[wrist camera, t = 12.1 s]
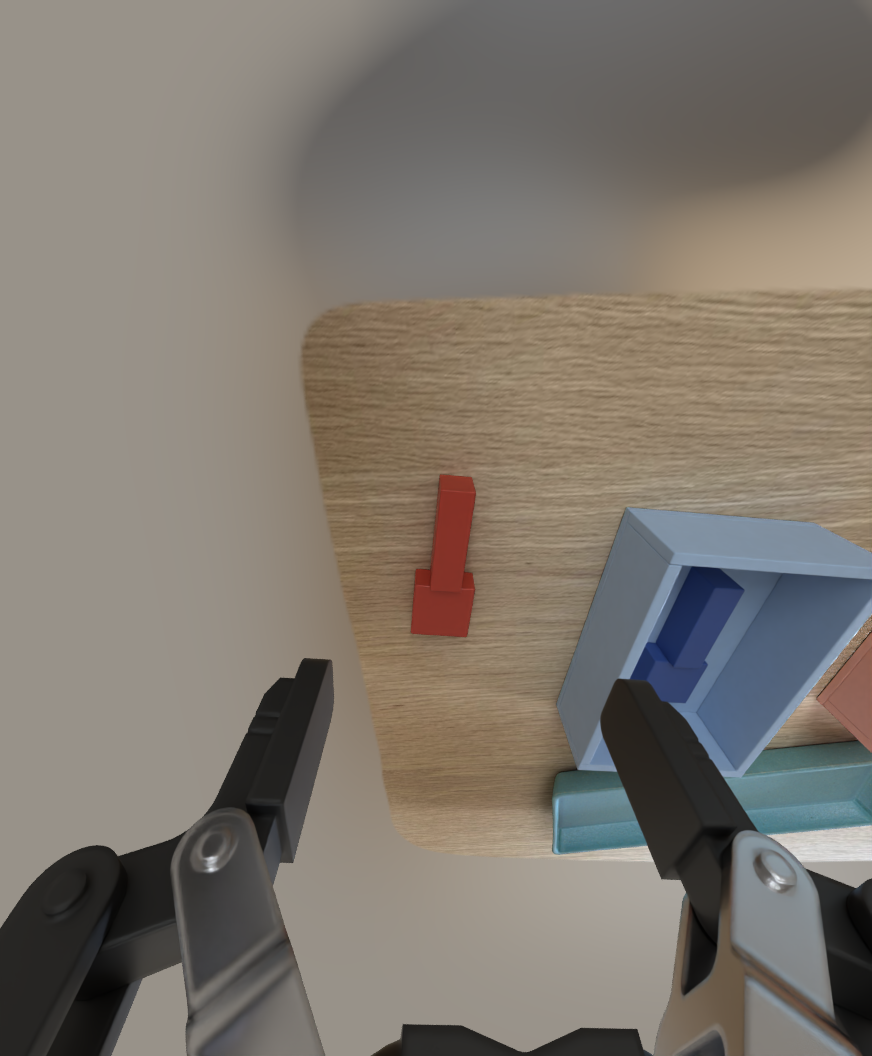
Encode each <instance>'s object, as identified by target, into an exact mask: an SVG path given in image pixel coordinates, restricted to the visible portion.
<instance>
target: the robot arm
mask: <svg viewBox="0 0 872 1056" xmlns="http://www.w3.org/2000/svg"><path fill="white" fill-rule="evenodd" d="M333 704H334V688H333V667H332V661H331V660H325V659H310V658H304V659H303V660H302V662H301V664H300V666H299V669H298V671H297V674H296V676H295V678H280V679H279V680H278V681H277V682H276V683H275V684H274V685H273V686H272V687H271V688H270V689H269V690H268V691H267V692H266V693H265V694H264V696H263V699H262V701H261V703H260V705H259V707H258V709H257V711H256V715H255V717H254V718H253V720H252V722H251V724H250V726H249V728H248V733H247V734H246V735H245V737H244V739H243V741H242V743H241V746H240V748H239V750H238V752H237V754H236V756H235V758H234V761H233V763H232V765H231V767H230V769H229V772H228V774H227V776H226V778H225V780H224V782H223V784H222V786H221V789H220V791H219V793H218V795H217V797H216V799H215V801H214V803H213V804H212V806H211V807H210V809H209V810H208V811H207V812H206V814H205V815H204V816H203V817H202V818H201V819H200V820H198V821H197V822H196V823H195V824H194V825H193V826H192V827H191V828H190V829H188V830H187V831H185V832H184V833H182V834H181V835H179V836H177V837H175V838H173V839H171V840H168V841H165V842H163V843H159V844H156V845H153V846H150V847H146V848H143V849H140V850H137V851H134V852H130V853H128V854H124V855H121V856H117V855H116V853H115V852H114V851H113V850H112V849H110V848H109V847H106V846H98V845H96V846H88V847H85V848H81V849H79V850H77V851H74V852H72V853H70V854H68V855H66V856H64V857H63V858H61V859H60V860H58V861H57V862H55V863H54V864H53V865H51V866H50V867H49V868H48V869H46V870H45V871H44V872H43V873H42V874H41V875H40V876H39V877H38V878H37V879H36V880H35V881H34V882H33V883H32V884H31V885H30V886H29V888H28V889H27V891H26V892H25V893H24V894H23V896H22V897H21V899H20V900H19V902H18V903H17V904H16V906H15V907H14V909H13V910H12V912H11V913H10V915H9V916H8V918H7V919H6V921H5V922H4V924H3V925H2V927H1V928H0V1056H111V1055H112V1052H113V1050H114V1047H115V1045H116V1043H117V1040H118V1038H119V1035H120V1033H121V1030H122V1028H123V1025H124V1023H125V1021H126V1018H127V1016H128V1013H129V1010H130V1008H131V1006H132V1003H133V1001H134V998H135V996H136V993H137V991H138V989H139V986H140V984H141V981H142V979H143V978H144V977H147V976H149V975H152V974H154V973H156V972H159V971H161V970H163V969H166V968H168V967H171V966H174V965H176V964H178V963H181V962H182V966H183V974H184V981H185V989H186V997H187V1006H188V1020H187V1023H186V1052H187V1056H325V1053H324V1050H323V1047H322V1043H321V1040H320V1037H319V1034H318V1030H317V1027H316V1024H315V1020H314V1017H313V1014H312V1010H311V1007H310V1004H309V1000H308V998H307V994H306V991H305V987H304V984H303V981H302V978H301V974H300V971H299V968H298V964H297V961H296V958H295V955H294V951H293V948H292V945H291V943H290V940H289V937H288V934H287V931H286V928H285V925H284V922H283V919H282V915H281V912H280V908H279V905H278V902H277V899H276V895H275V892H274V889H273V884H274V880H275V877H276V874H277V870H278V867H279V863H282V862H283V863H293V861H294V858H295V854H296V850H297V846H298V843H299V839H300V835H301V831H302V828H303V824H304V820H305V816H306V812H307V808H308V805H309V801H310V797H311V794H312V790H313V786H314V782H315V778H316V775H317V770H318V767H319V763H320V760H321V756H322V752H323V748H324V744H325V741H326V737H327V733H328V729H329V725H330V722H331V717H332V712H333ZM600 727H601V732H602V736H603V739H604V741H605V743H606V746H607V748H608V751H609V753H610V756H611V758H612V760H613V763H614V765H615V768H616V770H617V772H618V775H619V777H620V780H621V782H622V785H623V787H624V789H625V792H626V794H627V797H628V799H629V802H630V804H631V806H632V809H633V811H634V814H635V816H636V819H637V821H638V823H639V826H640V828H641V831H642V833H643V836H644V838H645V840H646V843H647V845H648V848H649V850H650V853H651V855H652V857H653V860H654V862H655V865H656V867H657V869H658V872H659V874H660V877H661V879H670V880H681V881H682V884H683V886H684V888H685V891H686V894H685V896H684V898H683V901H682V909H681V917H680V925H679V933H678V941H677V949H676V957H675V964H674V973H673V980H672V988H671V994H670V998H669V1002H668V1005H667V1008H666V1010H665V1012H664V1014H663V1017H662V1019H661V1022H660V1026H659V1029H658V1033H657V1037H656V1043H655V1049H654V1055H652V1054H650V1053H649V1052H647V1051H645V1050H643V1047H642V1044H641V1040H640V1037H639V1033H638V1030H637V1029H606V1028H604V1029H603V1028H600V1029H599V1028H580V1029H578V1030H575V1031H573V1032H571V1033H569V1034H567V1035H565V1036H563V1037H560V1038H558V1039H556V1040H554V1041H552V1042H550V1043H548V1044H545V1045H543V1046H541V1047H539V1048H537V1049H535V1050H532V1051H530V1052H520V1051H517V1050H515V1049H513V1048H511V1047H508V1046H506V1045H504V1044H502V1043H499V1042H497V1041H495V1040H493V1039H490V1038H488V1037H486V1036H484V1035H481V1034H479V1033H477V1032H475V1031H473V1030H470V1029H468V1028H466V1027H464V1026H459V1025H409V1024H407V1025H406V1024H403V1026H402V1032H401V1038H400V1040H397V1041H395V1042H393V1043H391V1044H388V1045H386V1046H385V1047H383V1048H382V1049H380V1050H379V1051H378V1052H376V1053H374V1054H373V1055H371V1056H872V879H869V880H867V881H865V882H864V883H863V884H861V885H860V886H859V887H858V888H854V887H851V886H849V885H846V884H844V883H841V882H838V881H836V880H833V879H831V878H828V877H825V876H823V875H820V874H818V873H815V872H813V871H810V870H808V869H805V868H804V867H803V865H802V864H801V863H800V862H799V861H798V860H797V858H796V857H795V856H794V855H793V854H792V853H791V852H789V851H788V850H787V849H786V848H785V847H784V846H782V845H781V844H780V843H778V842H777V841H775V840H774V839H772V838H770V837H768V836H767V835H764V834H762V833H760V832H759V831H758V830H757V828H756V827H755V826H754V824H753V823H752V821H751V820H750V818H749V817H748V815H747V813H746V812H745V810H744V809H743V807H742V806H741V804H740V803H739V801H738V799H737V798H736V796H735V795H734V793H733V792H732V790H731V789H730V787H729V785H728V784H727V782H726V781H725V779H724V778H723V776H722V775H721V773H720V771H719V770H718V768H717V767H716V765H715V764H714V762H713V761H712V759H709V754H708V753H707V751H706V750H705V748H704V747H703V745H702V744H701V743H699V741H698V737H697V736H696V734H695V733H694V731H693V730H692V728H691V726H690V725H689V723H688V722H687V720H686V719H685V718H684V717H683V716H682V715H681V714H680V713H679V712H678V711H677V710H676V709H675V708H674V707H673V706H672V705H671V704H670V703H668V702H665V701H661V700H660V698H659V697H658V695H657V693H656V692H655V690H654V688H653V687H652V685H651V684H650V683H649V682H648V681H646V680H635V679H617V680H616V681H615V682H614V684H613V687H612V689H611V691H610V694H609V696H608V698H607V701H606V703H605V705H604V707H603V710H602V712H601V716H600Z"/></svg>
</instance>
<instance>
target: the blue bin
mask: <svg viewBox="0 0 872 1056" xmlns="http://www.w3.org/2000/svg"><path fill="white" fill-rule="evenodd" d="M692 566H696V567H710V568H720V569H721V570H722V571H723V572H724V573H726V574H727V575H728V576H729V577H730V578H732V579H733V580H734V581H735V582H736V583H737V584H739V585H740V586H741V587H742V588H743V589H744V590H745V591H744V593H743V595H742V597H741V598H740V600H739V602H738V603H737V605H736V607H735V609H734V610H733V612H732V614H731V616H730V617H729V619H728V621H727V623H726V624H725V626H724V628H723V629H722V631H721V633H720V635H719V636H718V638H717V640H716V642H715V643H714V645H713V647H712V649H711V650H710V652H709V654H708V655H707V657H706V659H705V661H706V663H707V664H708V666H707V668H706V670H705V671H704V673H703V675H702V676H701V678H700V680H699V682H698V683H697V685H696V687H695V688H694V690H693V692H692V693H691V695H690V697H689V699H688V700H687V702H686V703H670V704H671V705H672V706H673V707H674V708H675V709H676V710H677V711H678V712H679V713H680V714H681V715H682V716H683V717H684V718H685V719H686V720H687V722H688V723H689V725H690V726H691V728H692V730H693V731H694V733H695V734H696V736H697V737H698V741H699V743H701V744H702V745H703V747H704V748H705V750H706V751H707V753H708V754H709V759H712V761H713V762H714V764H715V765H716V767H717V768H718V770H719V771H720V773H721V775H722V776H723V777H739V778H741V777H742V776H743V775H744V773H745V771H746V770H747V769H748V768H749V767H750V765H751V764H752V763H753V762H754V760H755V759H756V758H757V757H758V755H759V754H760V753H761V752H762V750H763V749H764V748H765V747H766V745H767V744H768V743H769V742H770V740H771V739H772V738H773V737H774V735H775V734H776V733H777V732H778V730H779V729H780V728H781V727H782V725H783V724H784V723H785V722H786V720H787V719H788V718H789V717H790V715H791V714H792V713H793V712H794V710H795V709H796V708H797V707H798V705H799V704H800V703H801V702H802V700H803V699H804V698H805V697H806V695H807V694H808V693H809V692H810V690H811V689H812V688H813V687H814V685H815V684H816V683H817V682H818V680H819V679H820V678H821V677H822V675H823V674H824V673H825V672H826V670H827V669H828V668H829V667H830V665H831V664H832V663H833V662H834V660H835V659H836V658H837V657H838V655H839V654H840V653H841V652H842V650H843V649H844V648H845V647H846V645H847V644H848V643H849V642H850V640H851V639H852V638H853V637H854V635H855V634H856V633H857V632H858V630H859V629H860V628H861V627H862V625H863V624H864V623H865V622H866V620H867V619H868V618H869V617H870V615H871V614H872V553H871V552H869V551H867V550H865V549H863V548H861V547H859V546H858V545H856V544H854V543H852V542H850V541H848V540H846V539H844V538H842V537H840V536H838V535H836V534H834V533H832V532H831V531H829V530H827V529H825V528H823V527H821V526H819V525H817V524H815V523H811V522H799V521H787V520H775V519H763V518H751V517H738V516H726V515H714V514H702V513H690V512H678V511H666V510H654V509H642V508H630V507H627V508H626V510H625V513H624V515H623V518H622V521H621V524H620V527H619V530H618V532H617V535H616V538H615V541H614V544H613V546H612V549H611V552H610V555H609V558H608V560H607V563H606V566H605V569H604V572H603V574H602V577H601V580H600V583H599V586H598V588H597V591H596V594H595V597H594V600H593V602H592V605H591V608H590V611H589V614H588V616H587V619H586V622H585V625H584V628H583V630H582V633H581V636H580V639H579V642H578V644H577V647H576V650H575V653H574V656H573V658H572V661H571V664H570V667H569V670H568V672H567V675H566V678H565V681H564V684H563V686H562V689H561V692H560V695H559V698H558V700H557V703H556V705H557V708H558V711H559V714H560V717H561V721H562V724H563V727H564V730H565V733H566V736H567V739H568V742H569V745H570V748H571V751H572V754H573V757H574V760H575V764H576V767H577V769H578V770H592V771H613V772H617V770H616V768H615V765H614V763H613V760H612V758H611V756H610V753H609V751H608V748H607V746H606V743H605V741H604V739H603V736H602V732H601V727H600V716H601V712H602V710H603V707H604V705H605V703H606V701H607V698H608V696H609V694H610V691H611V689H612V687H613V684H614V682H615V681H616V680H617V679H630V677H631V675H632V673H633V670H634V668H635V666H636V664H637V662H638V660H639V658H640V655H641V653H642V651H643V649H644V647H645V645H646V643H647V642H651V643H656V640H657V638H658V636H659V634H660V632H661V630H662V628H663V626H664V623H665V621H666V619H667V617H668V615H669V613H670V611H671V609H672V607H673V605H674V603H675V601H676V598H677V596H678V594H679V592H680V590H681V588H682V586H683V584H684V582H685V580H686V578H687V575H688V573H689V571H690V569H691V567H692Z"/></svg>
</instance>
